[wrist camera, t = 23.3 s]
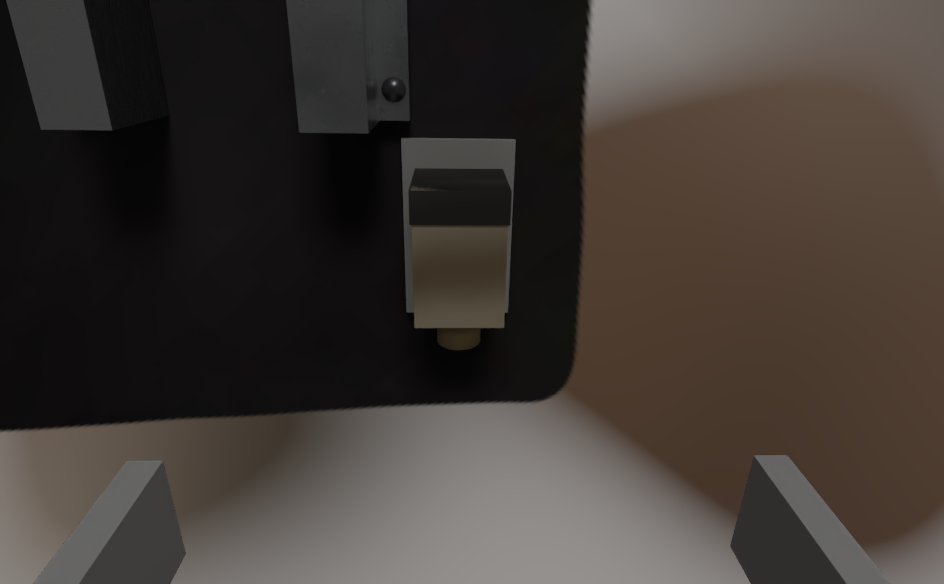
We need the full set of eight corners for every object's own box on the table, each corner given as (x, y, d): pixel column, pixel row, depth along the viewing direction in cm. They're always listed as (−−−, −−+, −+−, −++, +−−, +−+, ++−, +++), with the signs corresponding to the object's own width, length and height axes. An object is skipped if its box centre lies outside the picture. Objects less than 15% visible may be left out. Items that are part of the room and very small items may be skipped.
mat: (402, 137, 31) (401, 139, 30) (514, 139, 31) (515, 140, 31) (407, 307, 35) (406, 312, 34) (506, 308, 35) (507, 312, 35)
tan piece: (415, 168, 31) (408, 190, 26) (502, 168, 31) (511, 191, 27) (418, 319, 35) (413, 363, 30) (497, 319, 35) (504, 363, 30)
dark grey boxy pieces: (24, -119, 26) (-79, -156, 21) (405, -109, 27) (394, -143, 22) (80, 114, 30) (5, 129, 25) (411, 118, 31) (402, 133, 26)
